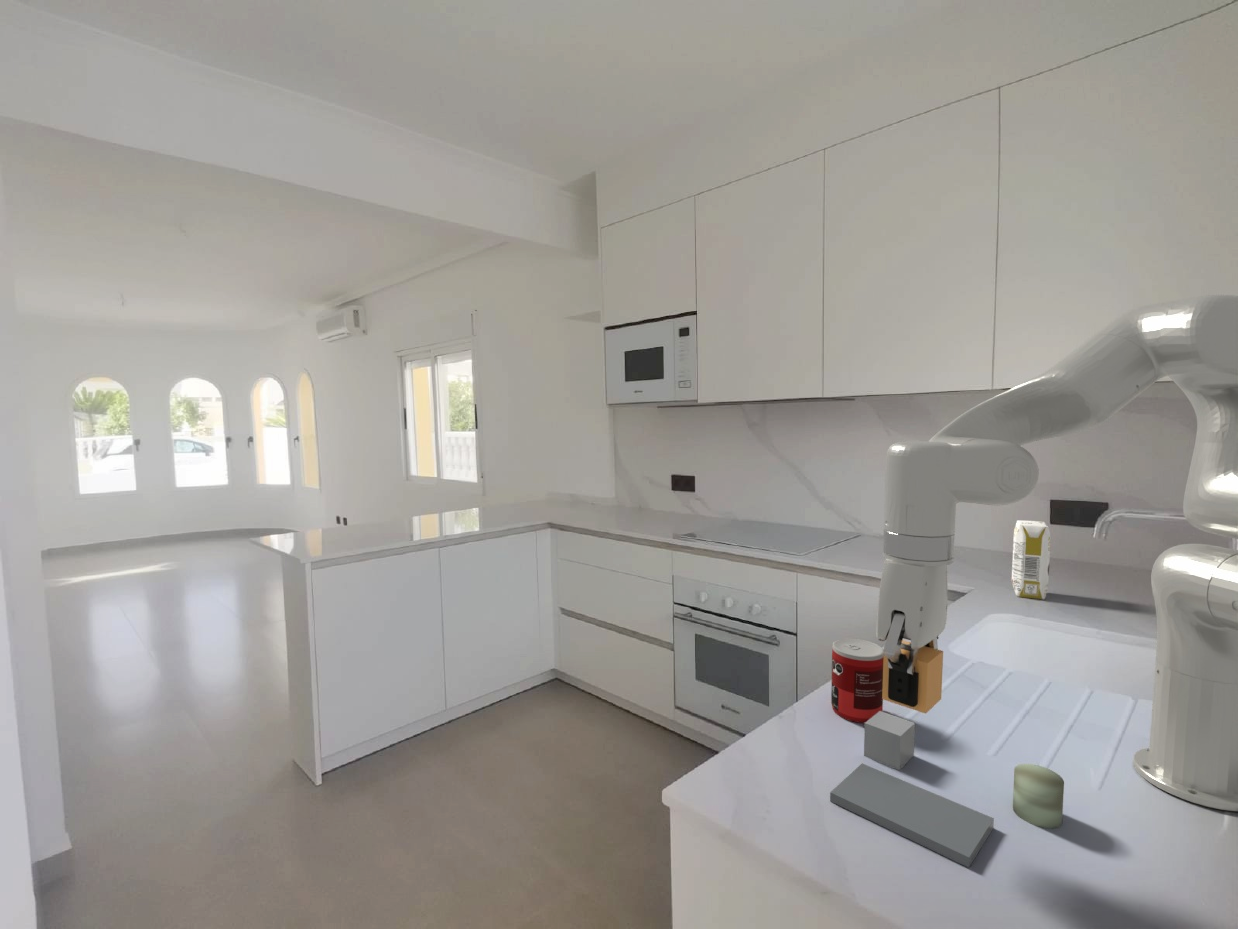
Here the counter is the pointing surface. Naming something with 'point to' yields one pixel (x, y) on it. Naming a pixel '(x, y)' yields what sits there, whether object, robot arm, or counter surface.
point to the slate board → (914, 813)
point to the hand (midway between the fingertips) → (912, 692)
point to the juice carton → (1031, 559)
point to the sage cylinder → (1038, 795)
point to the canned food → (857, 679)
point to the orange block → (921, 678)
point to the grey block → (889, 740)
